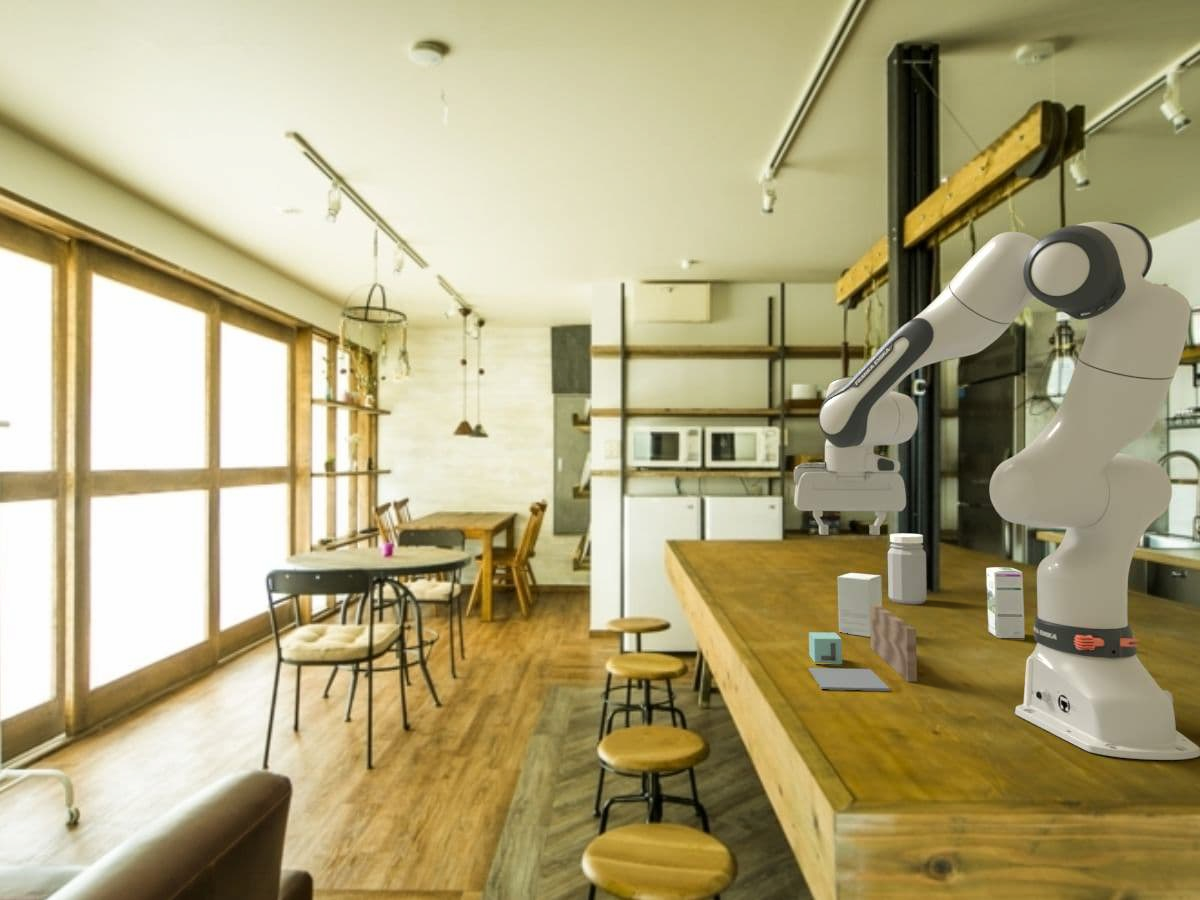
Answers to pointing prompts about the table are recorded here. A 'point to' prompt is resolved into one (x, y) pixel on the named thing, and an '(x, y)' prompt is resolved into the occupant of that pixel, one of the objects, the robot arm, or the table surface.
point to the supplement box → (857, 602)
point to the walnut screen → (894, 641)
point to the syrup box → (1005, 602)
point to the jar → (907, 569)
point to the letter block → (825, 647)
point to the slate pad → (848, 679)
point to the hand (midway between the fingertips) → (849, 534)
